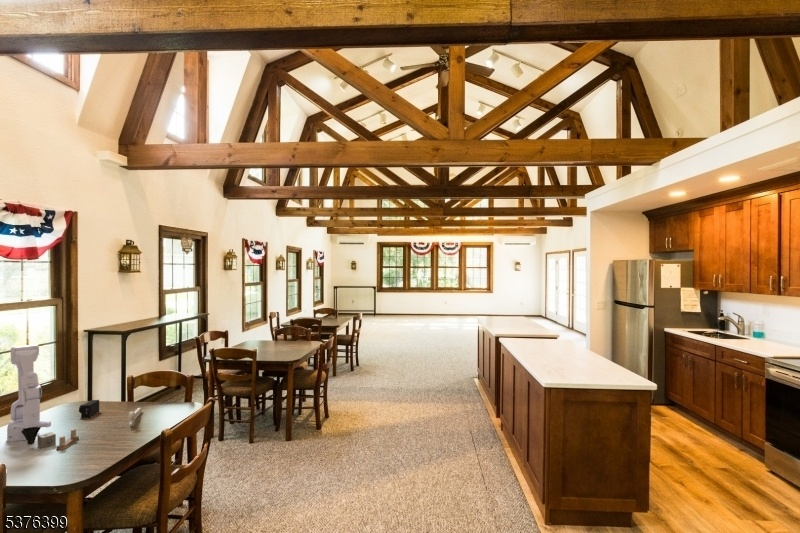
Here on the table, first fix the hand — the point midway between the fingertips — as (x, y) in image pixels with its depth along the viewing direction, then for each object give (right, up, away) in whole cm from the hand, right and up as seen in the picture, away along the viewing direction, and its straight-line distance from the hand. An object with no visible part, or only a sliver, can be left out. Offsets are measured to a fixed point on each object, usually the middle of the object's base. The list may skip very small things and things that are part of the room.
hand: (31, 444), depth 190 cm
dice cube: (+6, -2, +2) cm, 6 cm away
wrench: (+25, -2, +34) cm, 43 cm away
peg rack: (+14, -1, +3) cm, 15 cm away
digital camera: (-6, -2, +43) cm, 43 cm away
